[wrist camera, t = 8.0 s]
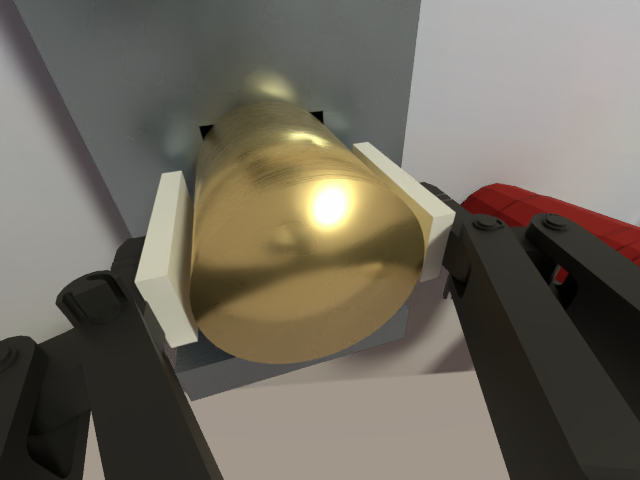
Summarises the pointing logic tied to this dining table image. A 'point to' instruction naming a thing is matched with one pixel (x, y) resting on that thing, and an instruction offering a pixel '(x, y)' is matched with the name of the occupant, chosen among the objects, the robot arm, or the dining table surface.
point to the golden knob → (294, 239)
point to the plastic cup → (523, 205)
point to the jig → (222, 101)
